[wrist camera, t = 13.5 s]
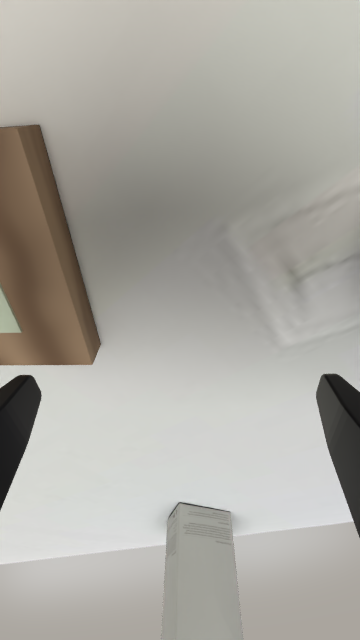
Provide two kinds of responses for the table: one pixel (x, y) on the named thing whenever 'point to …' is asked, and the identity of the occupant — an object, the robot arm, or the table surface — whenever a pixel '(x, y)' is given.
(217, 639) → the skincare box
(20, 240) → the dock
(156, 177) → the table surface
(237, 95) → the table surface
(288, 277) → the table surface
